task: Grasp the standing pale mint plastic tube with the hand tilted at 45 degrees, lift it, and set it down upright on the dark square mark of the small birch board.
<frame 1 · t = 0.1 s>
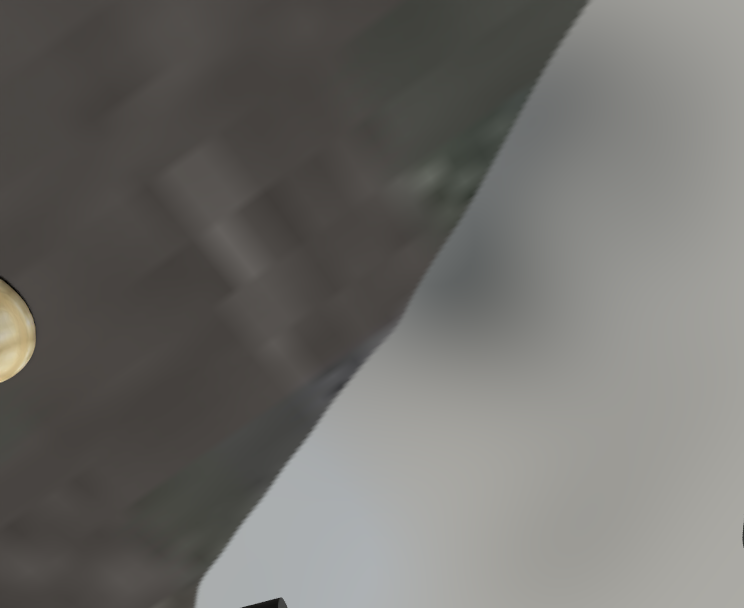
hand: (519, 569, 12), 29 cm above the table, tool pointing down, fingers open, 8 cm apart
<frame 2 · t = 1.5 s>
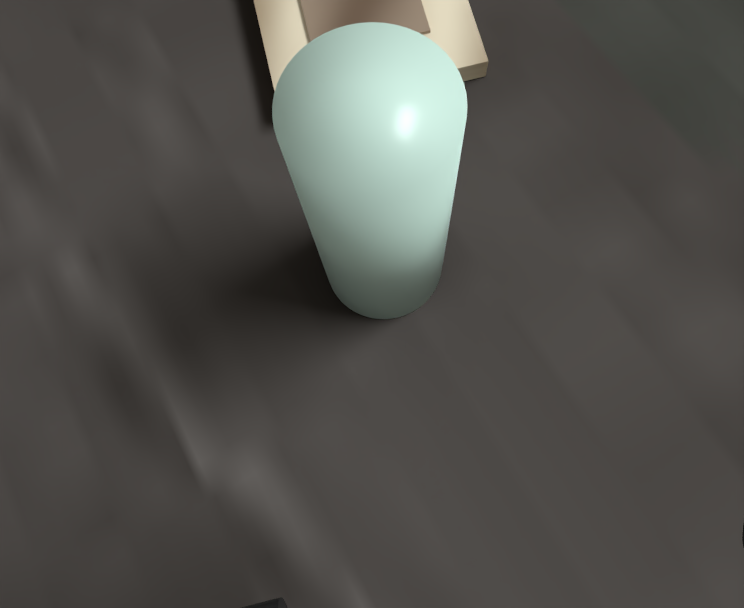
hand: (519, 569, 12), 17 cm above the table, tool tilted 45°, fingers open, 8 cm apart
tube: (384, 263, 31), on the table
board: (360, 14, 34), on the table
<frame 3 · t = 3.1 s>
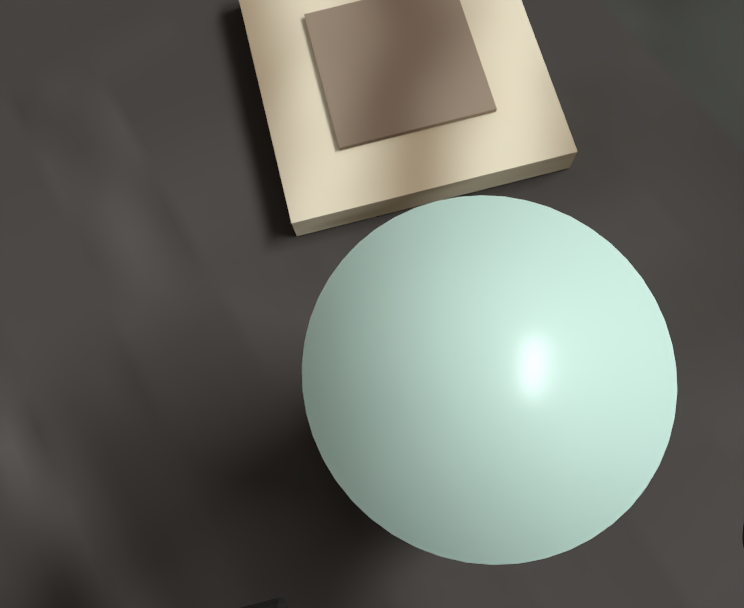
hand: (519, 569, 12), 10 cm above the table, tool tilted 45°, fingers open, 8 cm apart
tube: (439, 438, 22), on the table
board: (398, 82, 26), on the table
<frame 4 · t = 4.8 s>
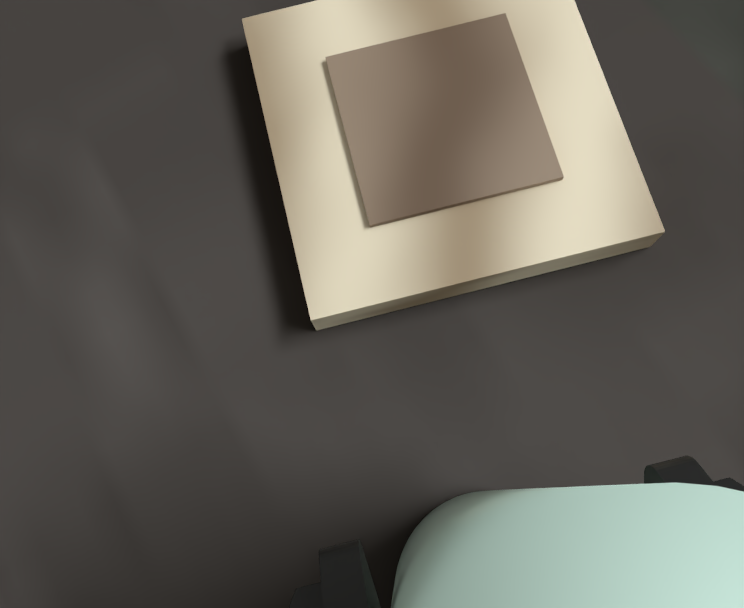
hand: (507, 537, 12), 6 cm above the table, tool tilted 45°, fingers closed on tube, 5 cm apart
tube: (494, 594, 18), on the table, touching gripper
board: (438, 138, 21), on the table
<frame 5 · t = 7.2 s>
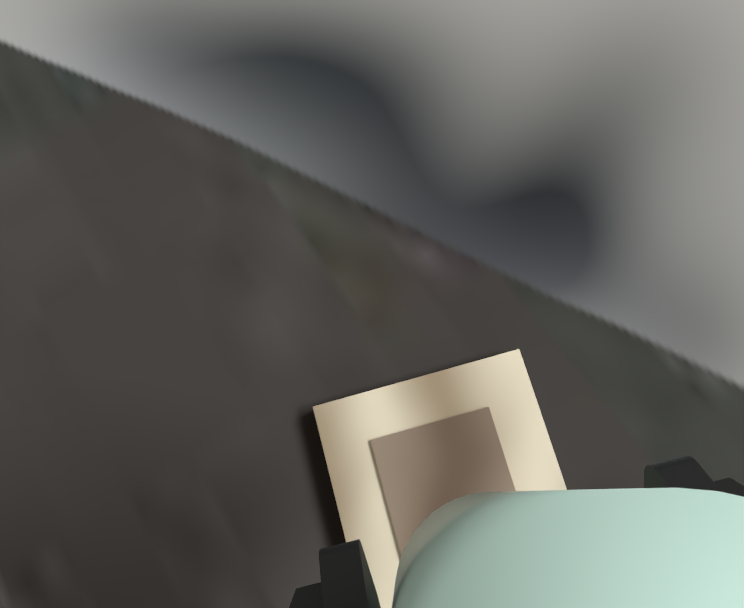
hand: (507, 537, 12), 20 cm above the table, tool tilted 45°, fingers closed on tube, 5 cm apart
tube: (495, 596, 18), point 14 cm above the table, touching gripper
board: (446, 485, 32), on the table
when the fingers open (9 cm above the table, at t = 10.0 s): tube drops 1 cm, resting on board.
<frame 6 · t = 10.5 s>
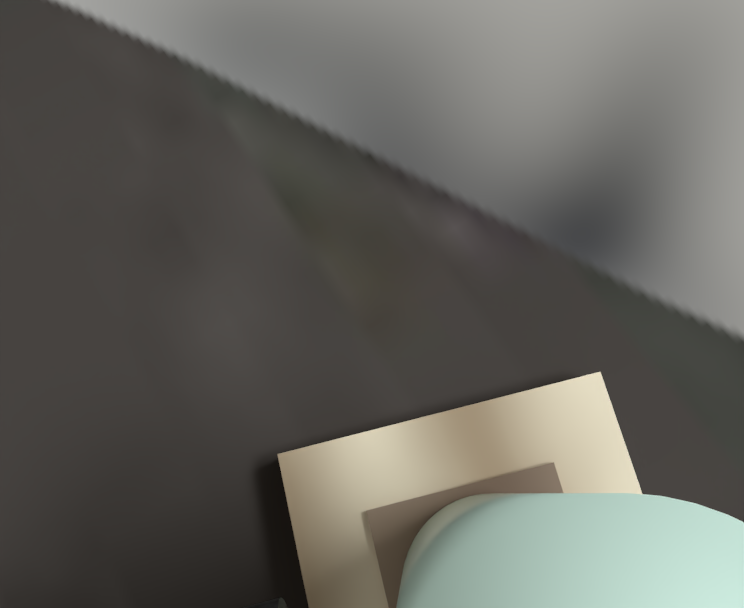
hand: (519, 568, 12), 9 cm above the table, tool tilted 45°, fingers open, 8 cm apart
tube: (495, 591, 19), point 1 cm above the table, touching board
board: (482, 581, 20), on the table
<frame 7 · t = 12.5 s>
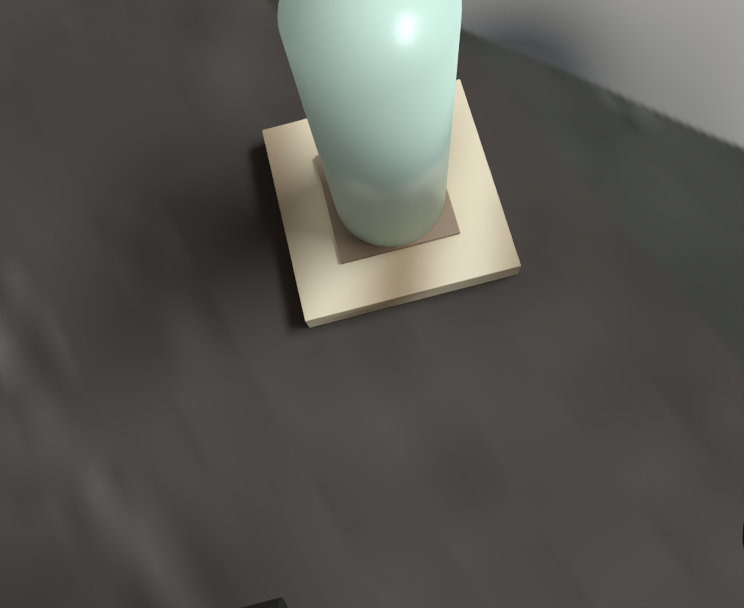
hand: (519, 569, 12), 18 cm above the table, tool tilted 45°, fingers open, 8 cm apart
tube: (389, 194, 32), point 1 cm above the table, touching board
board: (387, 205, 33), on the table
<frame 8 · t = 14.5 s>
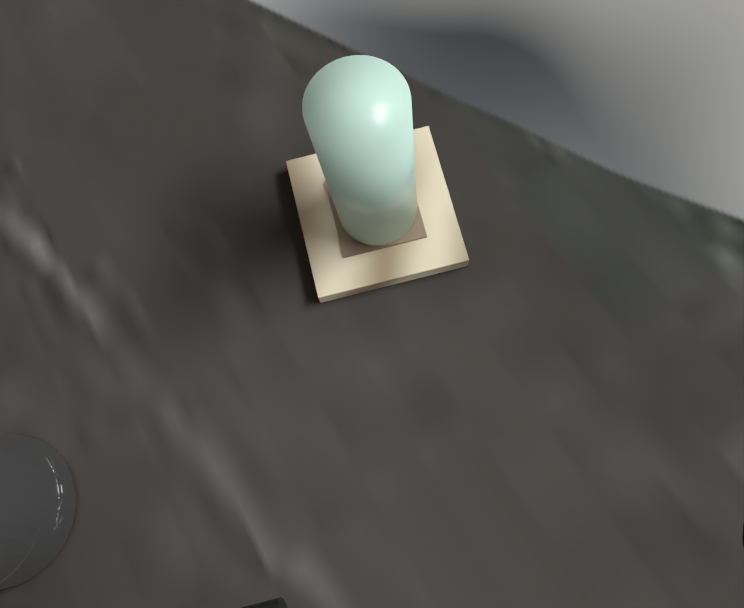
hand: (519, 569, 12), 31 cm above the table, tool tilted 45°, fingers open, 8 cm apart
tube: (377, 208, 45), point 2 cm above the table, touching board
board: (375, 216, 46), on the table
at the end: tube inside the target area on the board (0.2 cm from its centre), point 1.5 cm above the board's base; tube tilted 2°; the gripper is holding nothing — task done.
